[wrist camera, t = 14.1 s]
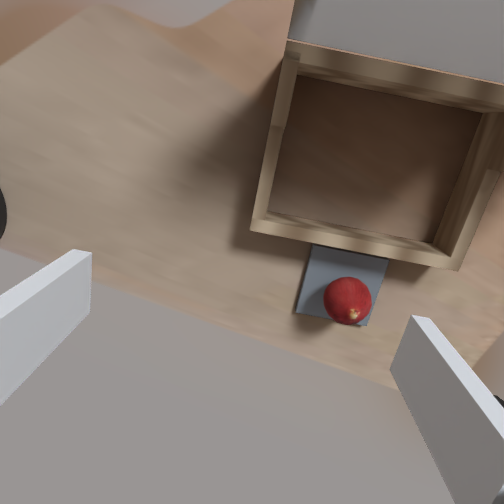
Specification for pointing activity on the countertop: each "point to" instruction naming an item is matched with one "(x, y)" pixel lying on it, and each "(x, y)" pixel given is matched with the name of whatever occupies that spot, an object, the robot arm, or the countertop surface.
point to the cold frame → (411, 86)
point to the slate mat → (338, 276)
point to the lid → (410, 32)
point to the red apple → (347, 300)
